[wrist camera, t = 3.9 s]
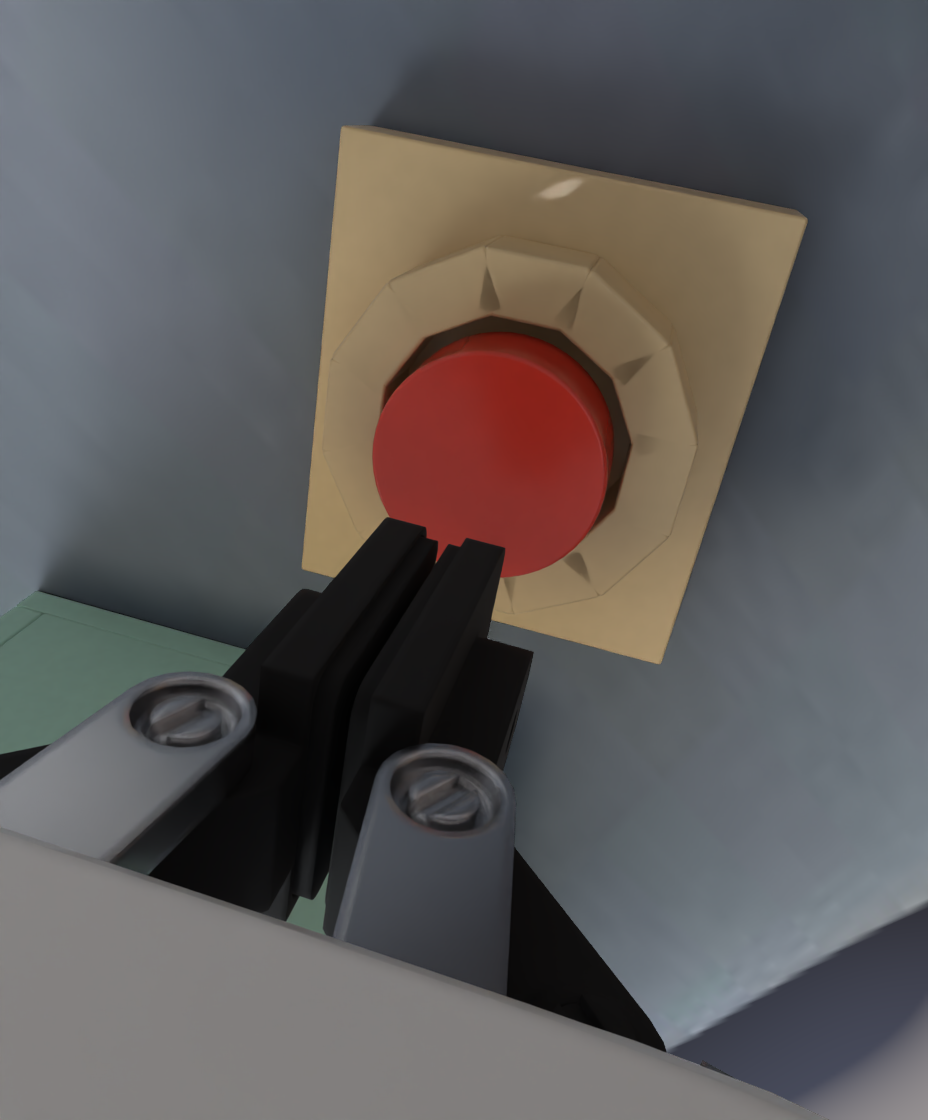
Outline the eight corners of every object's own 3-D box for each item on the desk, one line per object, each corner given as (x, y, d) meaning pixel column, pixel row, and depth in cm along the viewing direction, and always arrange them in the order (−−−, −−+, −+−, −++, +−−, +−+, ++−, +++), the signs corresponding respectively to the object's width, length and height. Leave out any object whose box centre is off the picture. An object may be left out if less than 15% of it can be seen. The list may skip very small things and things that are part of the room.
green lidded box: (36, 589, 26) (-310, 836, 17) (499, 720, 24) (387, 1072, 15) (62, 941, 34) (-170, 1243, 25) (420, 1061, 32) (312, 1434, 23)
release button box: (367, 124, 19) (304, 124, 15) (799, 210, 17) (822, 228, 14) (325, 541, 23) (270, 604, 20) (662, 630, 22) (658, 711, 19)
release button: (413, 307, 17) (385, 326, 15) (640, 358, 16) (635, 383, 15) (385, 513, 19) (358, 547, 17) (585, 564, 18) (575, 604, 17)
